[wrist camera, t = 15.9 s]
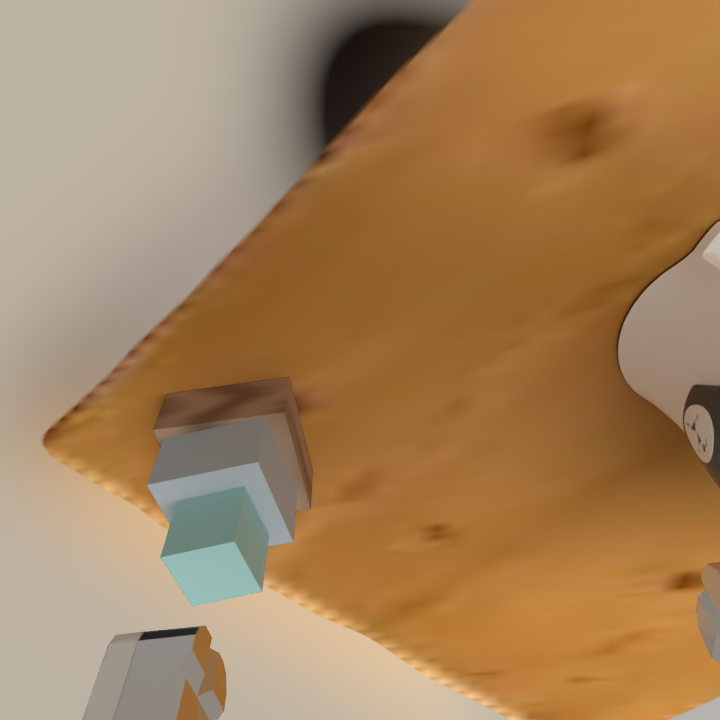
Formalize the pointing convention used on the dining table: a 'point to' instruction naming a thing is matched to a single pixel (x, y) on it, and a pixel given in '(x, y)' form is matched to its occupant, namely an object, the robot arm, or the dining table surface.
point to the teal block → (216, 546)
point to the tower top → (228, 472)
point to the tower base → (242, 405)
